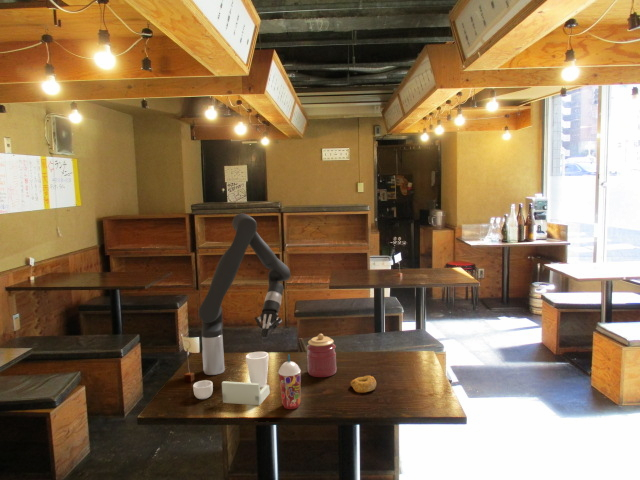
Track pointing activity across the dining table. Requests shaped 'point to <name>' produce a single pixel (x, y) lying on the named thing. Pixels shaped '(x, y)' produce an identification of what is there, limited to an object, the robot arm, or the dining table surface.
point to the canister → (321, 356)
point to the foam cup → (258, 367)
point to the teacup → (203, 389)
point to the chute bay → (244, 393)
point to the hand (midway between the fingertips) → (264, 337)
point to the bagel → (363, 384)
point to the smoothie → (290, 384)
